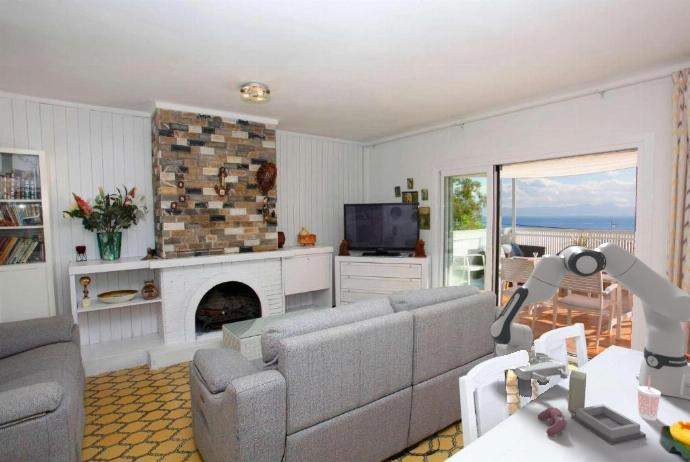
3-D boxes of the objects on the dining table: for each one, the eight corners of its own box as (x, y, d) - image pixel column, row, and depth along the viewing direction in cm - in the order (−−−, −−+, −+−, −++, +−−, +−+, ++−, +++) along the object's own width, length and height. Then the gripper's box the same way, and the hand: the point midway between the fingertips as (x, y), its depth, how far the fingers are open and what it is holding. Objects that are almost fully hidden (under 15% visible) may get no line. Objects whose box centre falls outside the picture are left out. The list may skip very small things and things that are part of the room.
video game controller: (560, 442, 110) (572, 424, 109) (545, 434, 111) (557, 415, 110) (548, 423, 120) (559, 406, 119) (535, 416, 121) (546, 399, 120)
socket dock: (602, 412, 124) (602, 402, 124) (645, 437, 110) (646, 426, 110) (571, 418, 120) (571, 407, 120) (612, 444, 107) (612, 433, 107)
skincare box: (570, 402, 130) (571, 369, 129) (585, 407, 127) (586, 373, 126) (567, 410, 125) (568, 375, 124) (583, 415, 122) (584, 379, 121)
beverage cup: (658, 414, 122) (660, 374, 121) (661, 424, 117) (663, 381, 116) (634, 409, 125) (636, 369, 124) (636, 418, 120) (638, 376, 119)
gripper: (505, 358, 145) (531, 373, 132) (548, 352, 150) (577, 366, 137) (505, 373, 146) (531, 390, 132) (548, 367, 151) (577, 383, 137)
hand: (555, 378), depth 135 cm, fingers open, 8 cm apart
